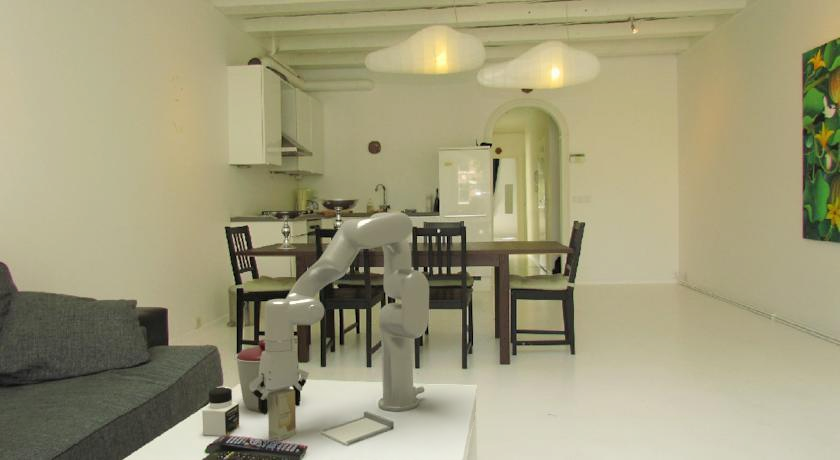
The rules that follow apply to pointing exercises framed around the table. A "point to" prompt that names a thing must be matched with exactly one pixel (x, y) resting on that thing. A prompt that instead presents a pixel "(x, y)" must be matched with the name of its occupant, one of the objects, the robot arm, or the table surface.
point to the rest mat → (358, 429)
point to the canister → (250, 373)
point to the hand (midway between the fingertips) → (279, 408)
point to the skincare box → (281, 414)
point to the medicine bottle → (220, 413)
